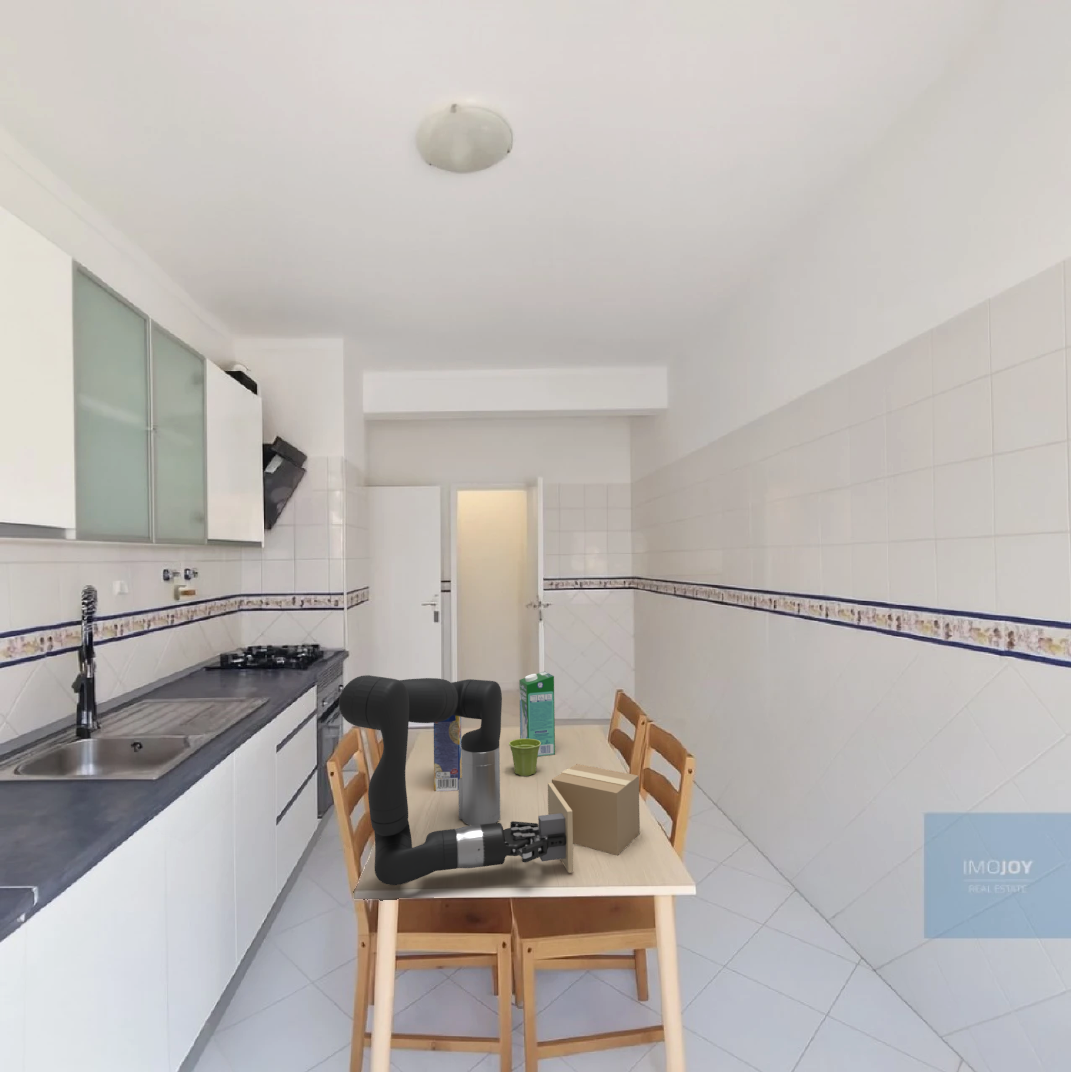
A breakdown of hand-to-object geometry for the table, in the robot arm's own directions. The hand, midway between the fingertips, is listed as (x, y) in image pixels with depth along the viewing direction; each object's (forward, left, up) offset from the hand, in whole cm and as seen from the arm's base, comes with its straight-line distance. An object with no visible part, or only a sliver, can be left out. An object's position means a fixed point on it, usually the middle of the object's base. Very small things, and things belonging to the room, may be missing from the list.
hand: (563, 835), depth 127 cm
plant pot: (-37, +42, -7) cm, 57 cm away
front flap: (-5, +2, -6) cm, 8 cm away
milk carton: (-44, +60, -7) cm, 75 cm away
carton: (-1, +16, -7) cm, 18 cm away
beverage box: (-51, +24, -7) cm, 57 cm away
